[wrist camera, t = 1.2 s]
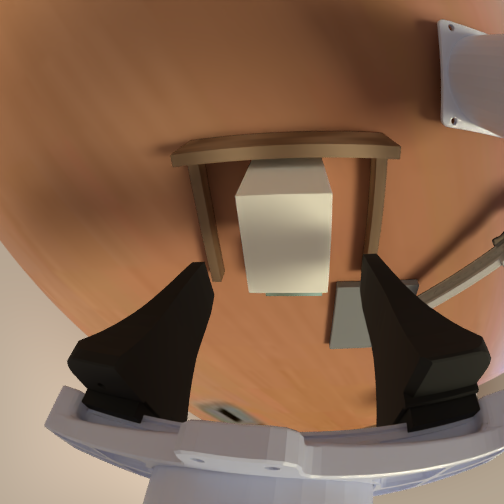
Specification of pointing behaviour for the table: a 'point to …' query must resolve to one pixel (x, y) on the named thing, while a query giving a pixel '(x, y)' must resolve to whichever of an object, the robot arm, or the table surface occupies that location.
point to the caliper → (466, 275)
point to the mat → (353, 316)
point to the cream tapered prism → (286, 225)
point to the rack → (284, 147)
